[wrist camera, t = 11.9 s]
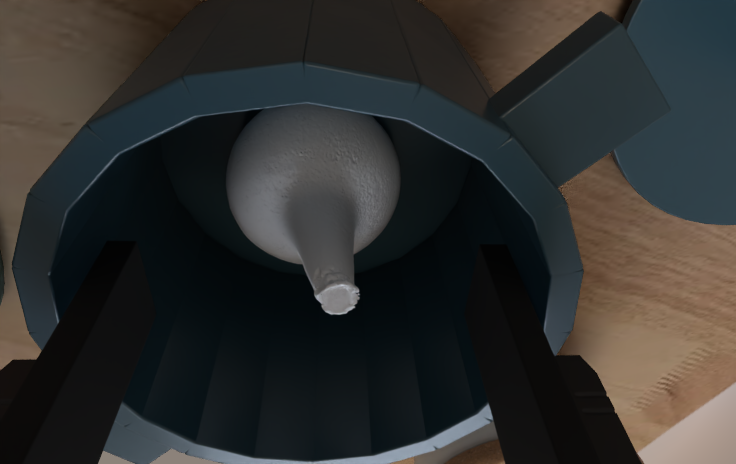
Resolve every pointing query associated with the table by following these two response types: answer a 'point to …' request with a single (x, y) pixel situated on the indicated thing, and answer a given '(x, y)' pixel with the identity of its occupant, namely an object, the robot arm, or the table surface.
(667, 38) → the lid
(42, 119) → the table surface
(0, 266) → the coffee jar
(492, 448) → the trinket box
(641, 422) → the table surface
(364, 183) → the garlic bulb
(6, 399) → the robot arm
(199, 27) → the pot
